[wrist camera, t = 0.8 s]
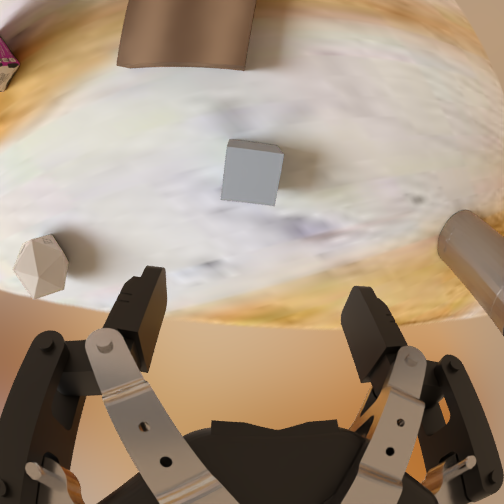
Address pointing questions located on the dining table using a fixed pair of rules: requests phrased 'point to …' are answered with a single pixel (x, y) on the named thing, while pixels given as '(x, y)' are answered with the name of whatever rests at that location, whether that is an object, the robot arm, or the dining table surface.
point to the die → (41, 266)
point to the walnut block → (186, 33)
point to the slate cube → (251, 172)
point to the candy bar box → (6, 65)
